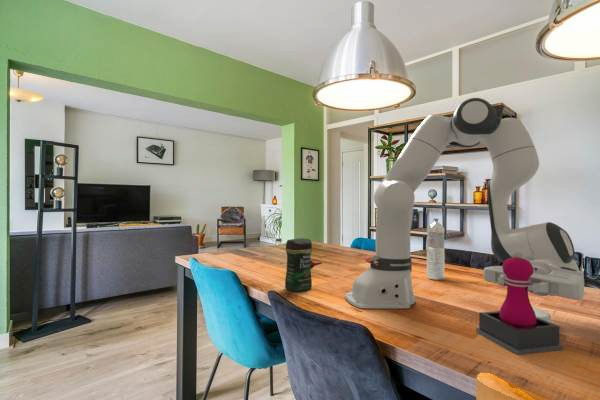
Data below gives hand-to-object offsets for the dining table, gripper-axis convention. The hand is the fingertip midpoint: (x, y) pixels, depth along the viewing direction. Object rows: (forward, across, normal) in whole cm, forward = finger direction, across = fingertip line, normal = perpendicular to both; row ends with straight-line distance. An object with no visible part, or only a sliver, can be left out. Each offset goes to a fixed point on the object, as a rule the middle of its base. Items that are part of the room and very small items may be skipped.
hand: (515, 285), depth 75 cm
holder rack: (-1, 0, +13) cm, 13 cm away
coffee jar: (+18, -64, +13) cm, 68 cm away
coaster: (-15, -3, +14) cm, 21 cm away
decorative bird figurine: (+3, -81, +13) cm, 83 cm away
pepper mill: (-1, 0, +12) cm, 12 cm away
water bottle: (-38, -46, +13) cm, 61 cm away
